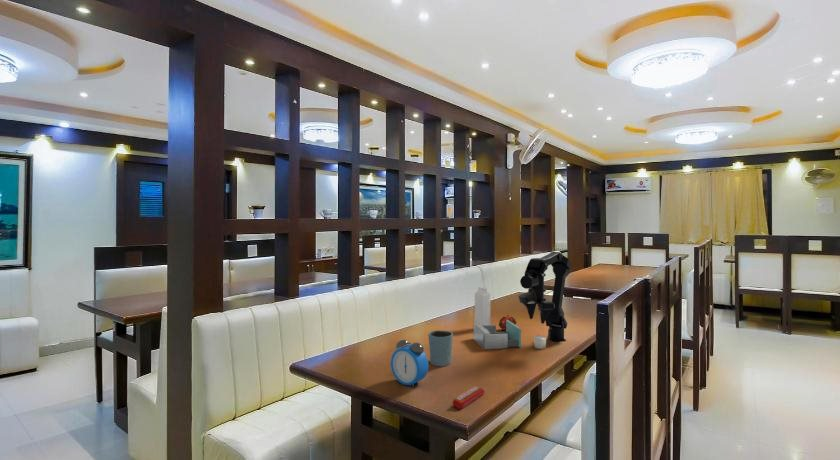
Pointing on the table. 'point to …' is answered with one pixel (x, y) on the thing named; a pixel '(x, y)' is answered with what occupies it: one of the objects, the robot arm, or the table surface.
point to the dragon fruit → (503, 322)
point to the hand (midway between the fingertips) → (536, 321)
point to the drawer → (512, 334)
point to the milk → (482, 307)
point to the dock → (489, 337)
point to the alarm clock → (409, 363)
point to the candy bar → (468, 397)
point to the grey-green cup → (440, 347)
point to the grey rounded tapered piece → (540, 342)
